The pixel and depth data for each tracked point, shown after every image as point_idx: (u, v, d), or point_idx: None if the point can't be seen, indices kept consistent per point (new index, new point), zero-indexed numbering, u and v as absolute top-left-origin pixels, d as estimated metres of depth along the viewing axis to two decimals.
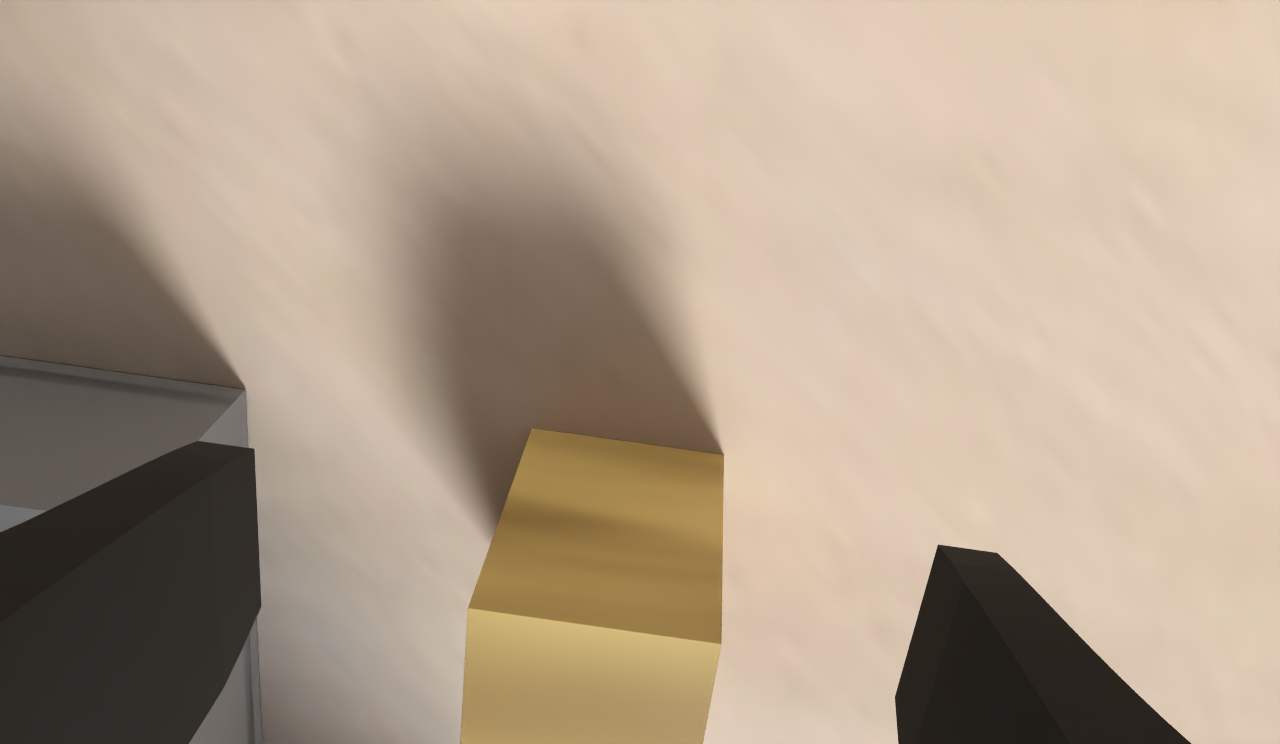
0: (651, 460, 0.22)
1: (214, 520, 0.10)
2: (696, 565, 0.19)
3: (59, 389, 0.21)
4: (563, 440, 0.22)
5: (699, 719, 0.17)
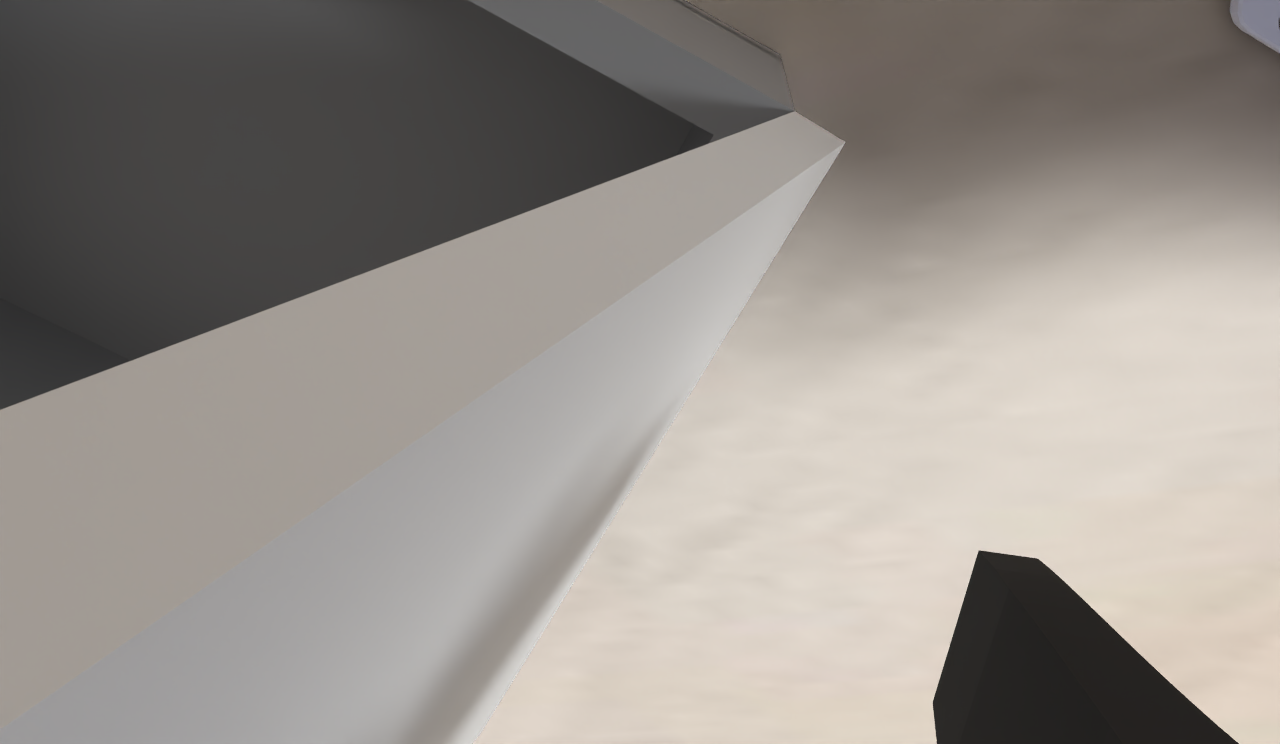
0: None
1: None
2: None
3: None
4: None
5: None
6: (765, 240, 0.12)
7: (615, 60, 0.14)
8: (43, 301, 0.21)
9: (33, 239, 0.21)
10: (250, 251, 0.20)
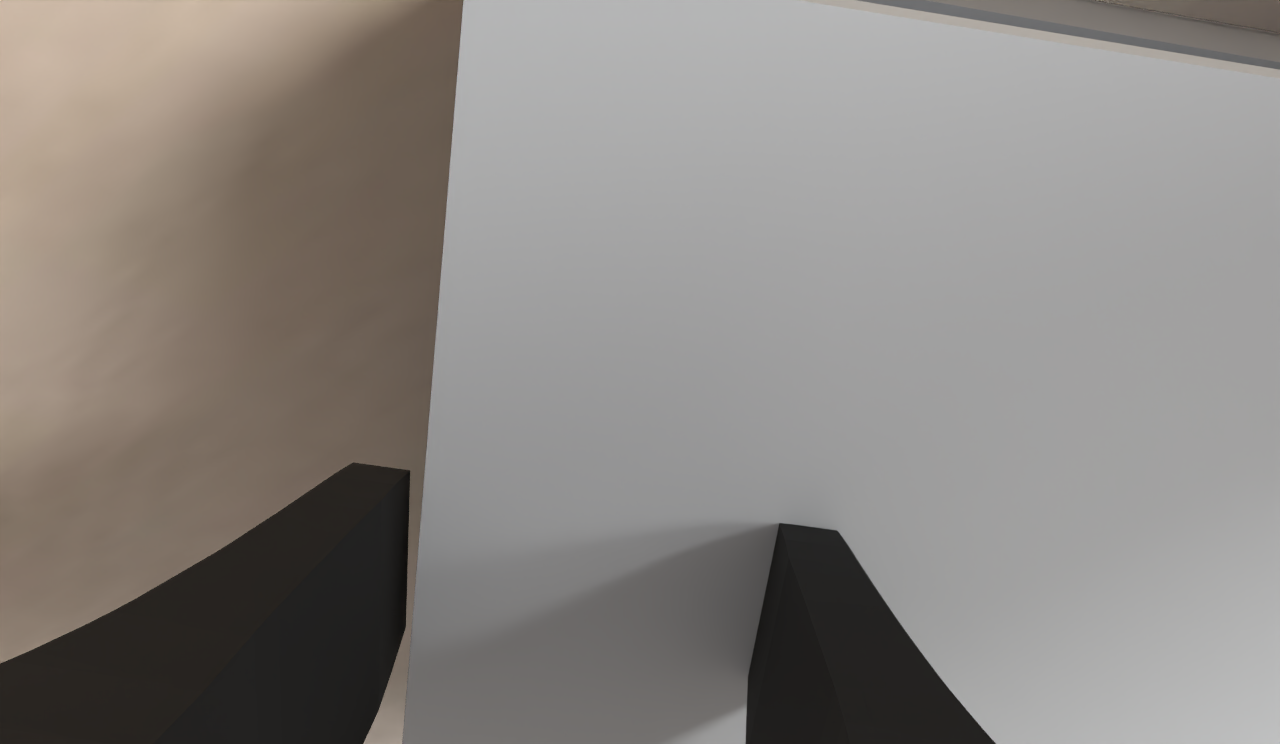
0: None
1: (381, 544, 0.10)
2: None
3: None
4: None
5: None
6: None
7: None
8: None
9: None
10: None
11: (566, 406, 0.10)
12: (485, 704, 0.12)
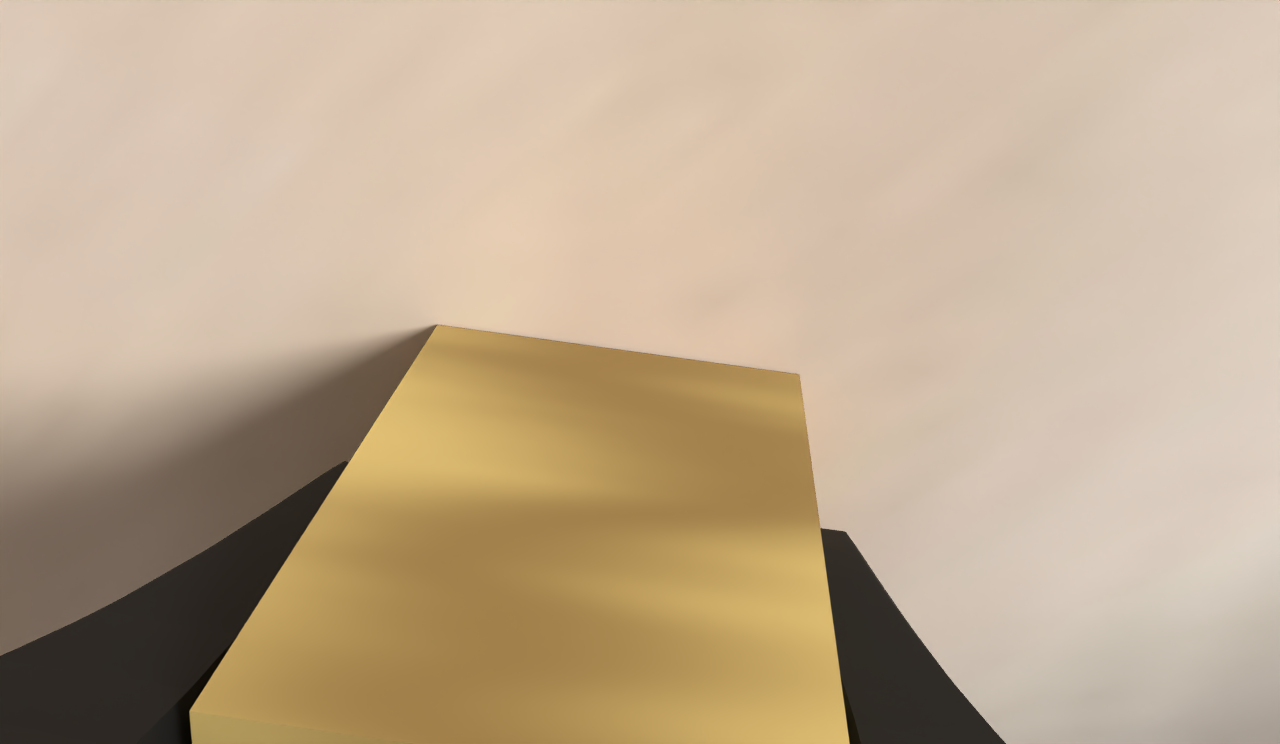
0: None
1: None
2: None
3: None
4: None
5: None
6: None
7: None
8: None
9: None
10: None
11: None
12: None
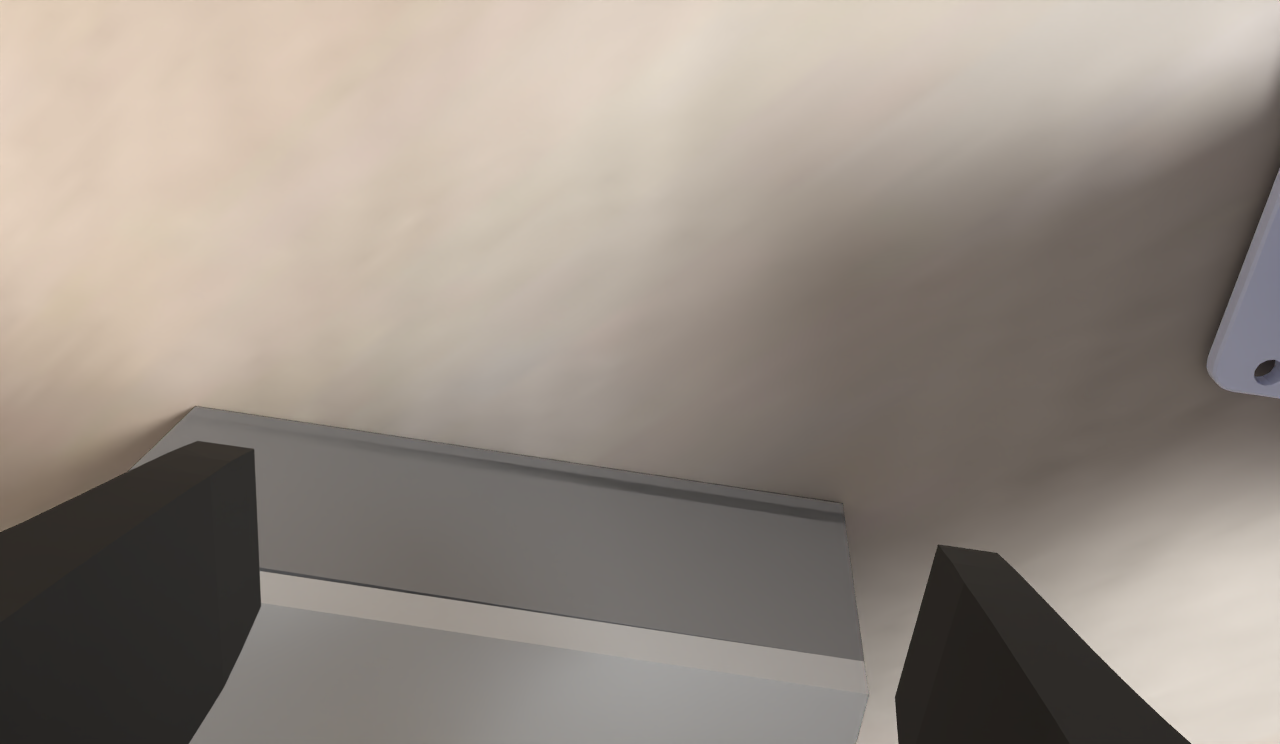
0: None
1: (214, 520, 0.10)
2: None
3: None
4: None
5: None
6: (682, 711, 0.18)
7: None
8: None
9: None
10: None
11: None
12: None
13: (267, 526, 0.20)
